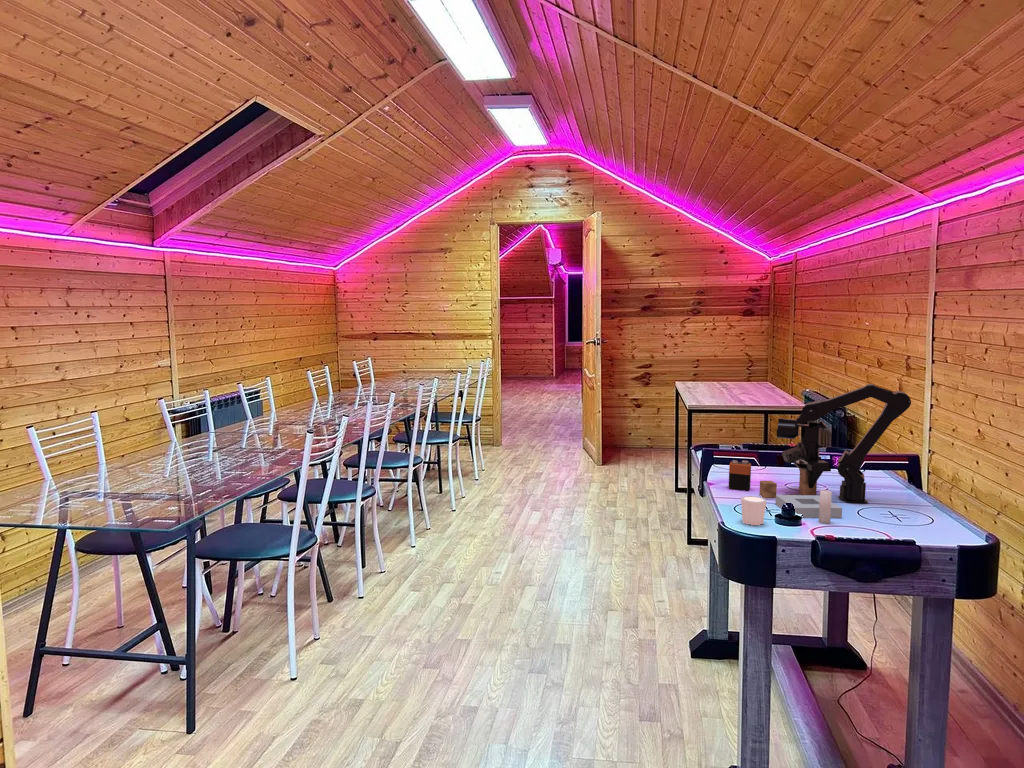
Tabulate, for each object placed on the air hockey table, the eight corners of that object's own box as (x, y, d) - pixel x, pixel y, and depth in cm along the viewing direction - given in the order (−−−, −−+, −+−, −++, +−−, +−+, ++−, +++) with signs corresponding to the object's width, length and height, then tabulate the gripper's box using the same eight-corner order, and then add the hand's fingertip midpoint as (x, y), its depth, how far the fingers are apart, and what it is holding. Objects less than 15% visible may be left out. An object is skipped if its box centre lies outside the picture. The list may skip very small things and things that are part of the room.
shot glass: (753, 527, 180) (754, 503, 179) (735, 521, 186) (735, 497, 185) (770, 524, 183) (771, 500, 182) (751, 517, 189) (752, 494, 188)
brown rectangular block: (810, 493, 216) (811, 467, 215) (816, 497, 212) (817, 470, 211) (798, 493, 216) (800, 467, 215) (804, 496, 212) (805, 470, 211)
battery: (749, 491, 218) (750, 462, 217) (728, 489, 221) (729, 460, 220) (750, 488, 222) (751, 460, 221) (729, 486, 225) (731, 458, 224)
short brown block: (771, 495, 214) (772, 480, 213) (776, 498, 210) (776, 483, 209) (759, 495, 214) (760, 480, 213) (763, 498, 210) (764, 483, 209)
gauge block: (819, 504, 203) (821, 476, 202) (851, 523, 183) (852, 493, 182) (775, 504, 203) (776, 476, 202) (802, 523, 183) (803, 492, 183)
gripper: (774, 435, 221) (772, 479, 223) (797, 445, 203) (795, 493, 204) (806, 435, 221) (804, 479, 223) (833, 445, 202) (830, 494, 204)
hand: (807, 486), depth 213 cm, fingers closed on brown rectangular block, 4 cm apart
